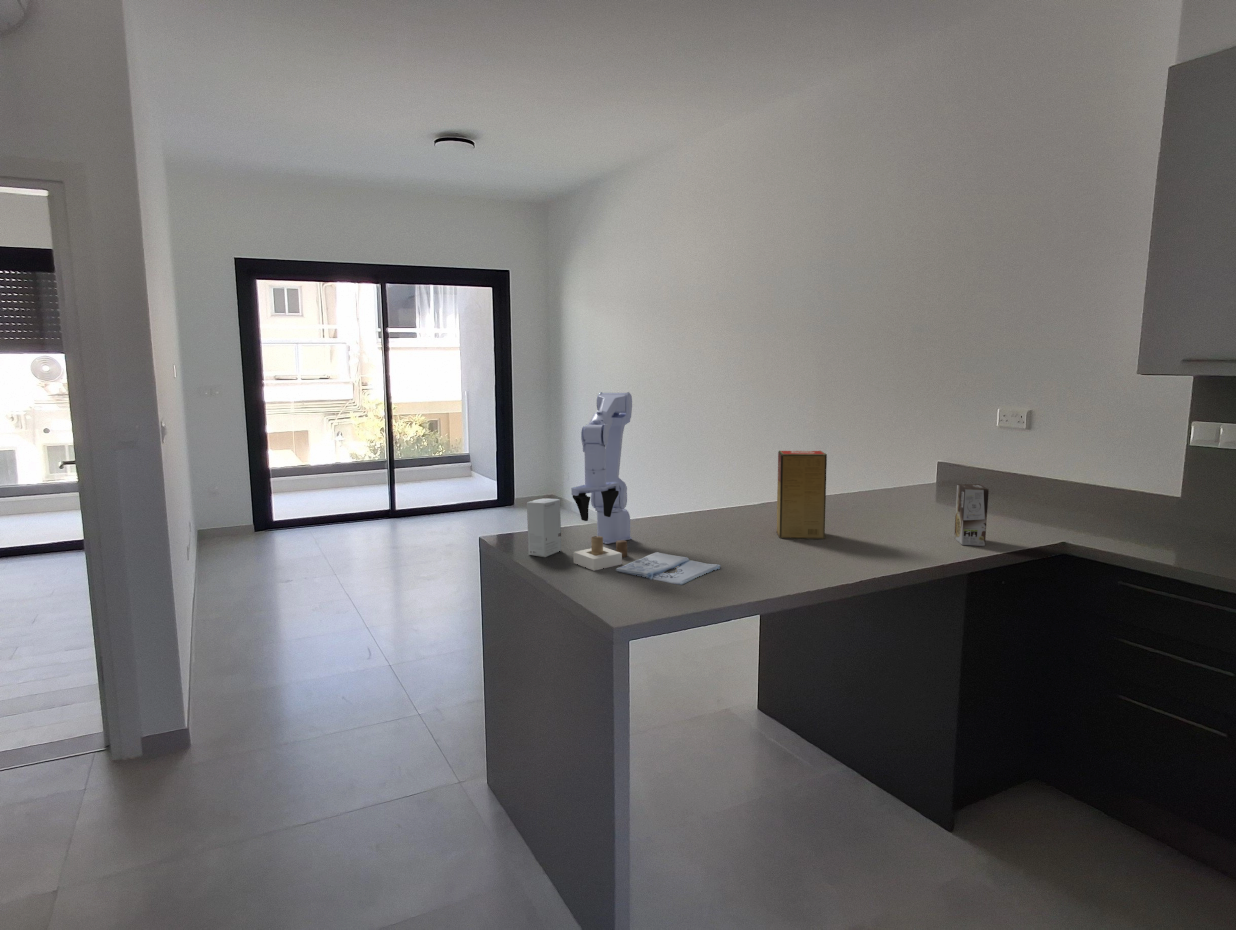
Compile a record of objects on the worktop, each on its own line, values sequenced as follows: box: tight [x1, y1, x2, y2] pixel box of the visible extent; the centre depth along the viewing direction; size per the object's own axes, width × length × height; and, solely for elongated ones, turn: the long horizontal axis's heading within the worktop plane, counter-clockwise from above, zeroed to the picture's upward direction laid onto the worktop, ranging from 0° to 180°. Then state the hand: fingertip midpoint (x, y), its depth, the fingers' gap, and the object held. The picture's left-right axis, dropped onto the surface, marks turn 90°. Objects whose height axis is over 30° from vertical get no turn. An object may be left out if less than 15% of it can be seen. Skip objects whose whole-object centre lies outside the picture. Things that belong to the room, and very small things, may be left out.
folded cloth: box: [615, 551, 721, 586], centre depth 186 cm, size 19×20×2 cm
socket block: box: [573, 546, 623, 572], centre depth 192 cm, size 9×9×3 cm
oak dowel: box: [590, 535, 604, 556], centre depth 192 cm, size 3×3×7 cm
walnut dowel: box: [615, 540, 628, 558], centre depth 200 cm, size 3×3×4 cm
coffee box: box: [953, 483, 990, 547], centre depth 209 cm, size 9×6×16 cm
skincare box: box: [526, 497, 562, 558], centre depth 203 cm, size 8×6×15 cm
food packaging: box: [775, 450, 828, 540], centre depth 219 cm, size 13×9×25 cm
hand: (596, 518), depth 201 cm, fingers open, 7 cm apart
